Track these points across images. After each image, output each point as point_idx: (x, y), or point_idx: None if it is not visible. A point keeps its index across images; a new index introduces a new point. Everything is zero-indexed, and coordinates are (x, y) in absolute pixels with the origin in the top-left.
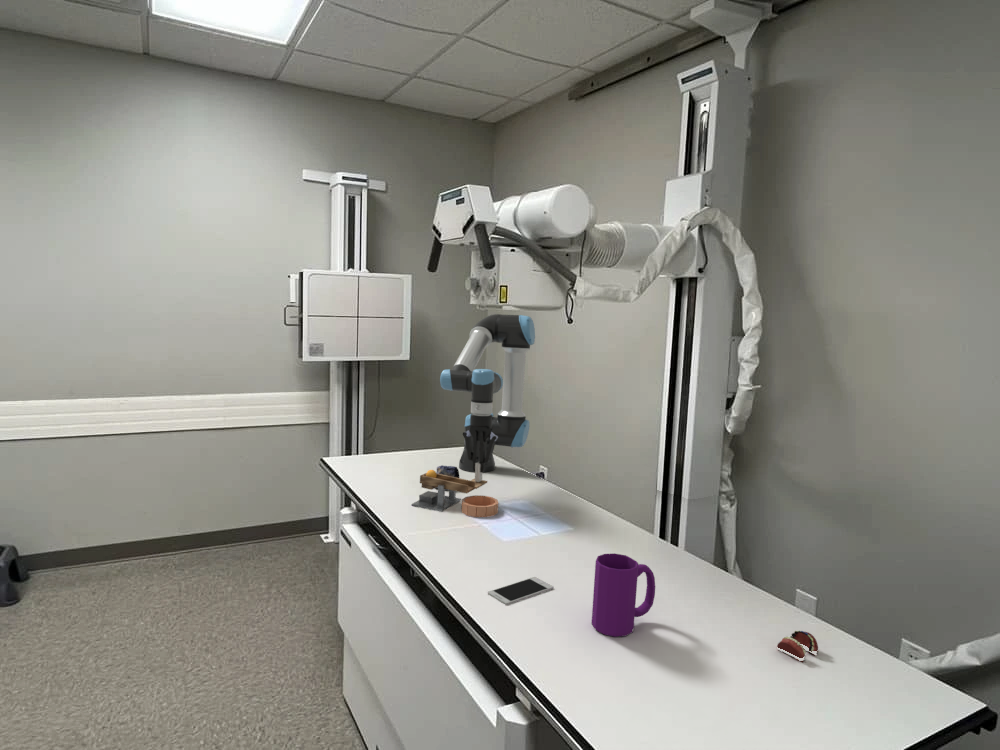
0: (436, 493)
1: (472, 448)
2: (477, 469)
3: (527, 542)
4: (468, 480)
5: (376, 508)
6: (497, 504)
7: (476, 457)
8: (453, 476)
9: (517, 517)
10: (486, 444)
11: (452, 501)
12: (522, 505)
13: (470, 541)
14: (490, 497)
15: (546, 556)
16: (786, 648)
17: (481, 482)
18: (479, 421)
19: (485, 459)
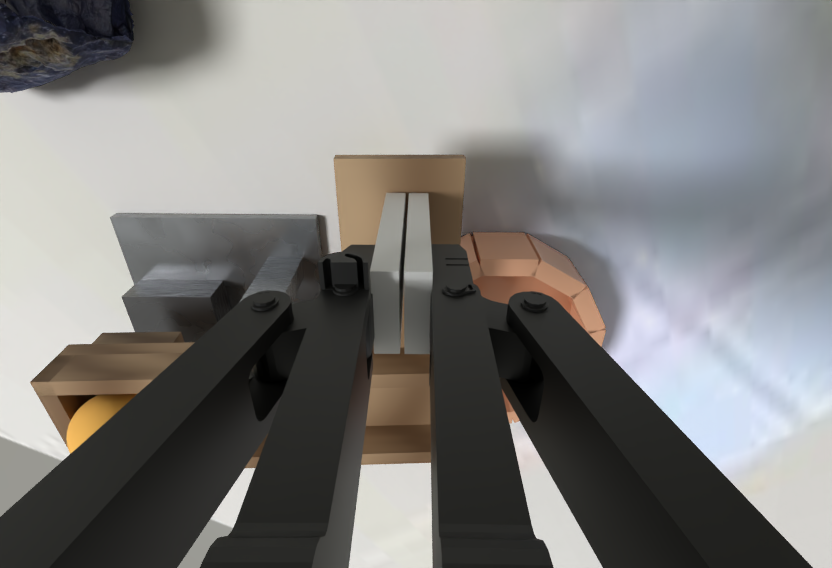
0: (193, 310)
1: (208, 409)
2: (402, 304)
3: (748, 488)
4: (392, 380)
5: None
6: (601, 336)
7: (368, 384)
8: (49, 37)
9: (695, 304)
10: (527, 511)
11: (304, 285)
12: (713, 95)
13: (561, 540)
14: (534, 270)
15: (808, 536)
16: None
17: (438, 228)
18: None
19: (511, 391)
